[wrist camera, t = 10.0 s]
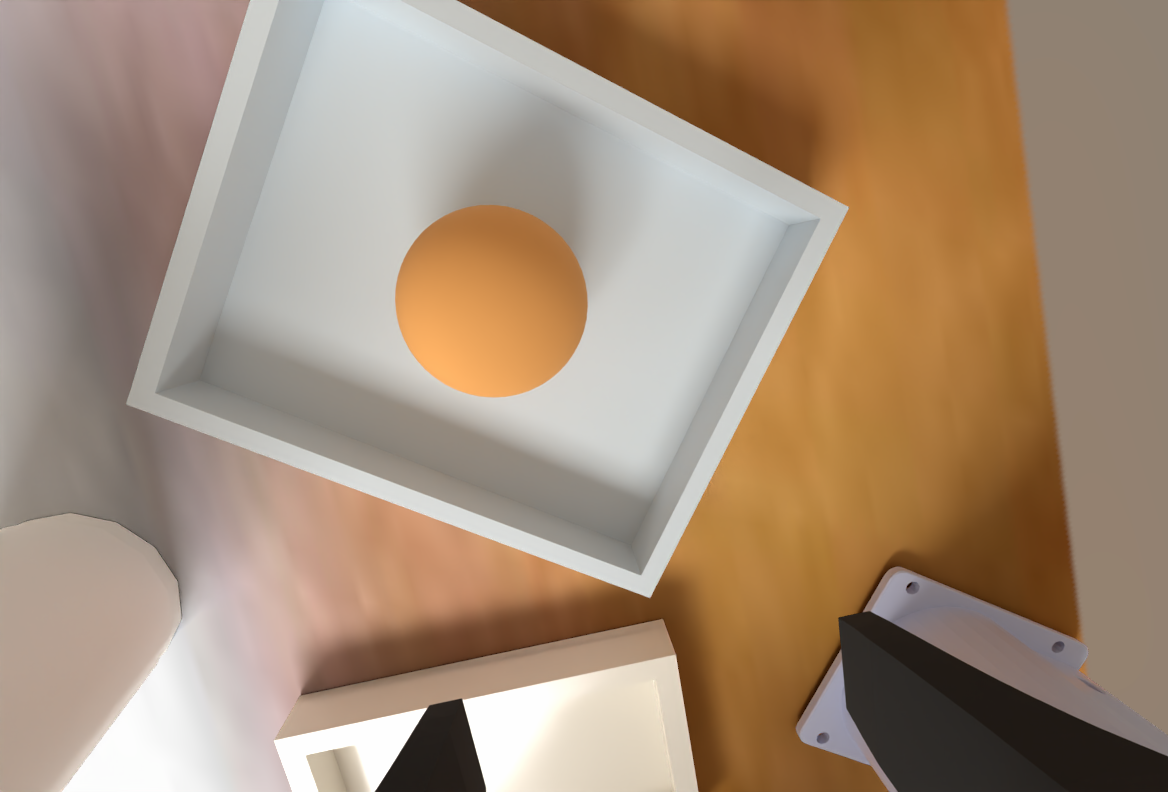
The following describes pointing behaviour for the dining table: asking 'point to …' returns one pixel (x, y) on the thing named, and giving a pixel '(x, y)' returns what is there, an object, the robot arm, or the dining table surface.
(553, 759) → the dish
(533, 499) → the tray
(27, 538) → the foam cup
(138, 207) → the dining table surface
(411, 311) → the ball
